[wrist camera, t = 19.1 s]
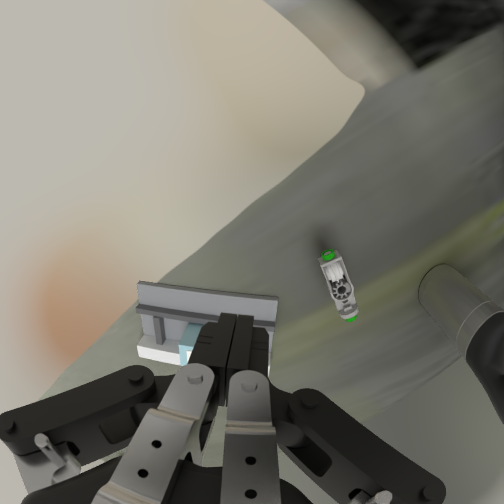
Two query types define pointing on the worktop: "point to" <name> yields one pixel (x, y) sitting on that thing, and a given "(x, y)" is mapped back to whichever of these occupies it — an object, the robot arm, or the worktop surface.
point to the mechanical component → (339, 284)
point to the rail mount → (192, 315)
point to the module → (188, 341)
